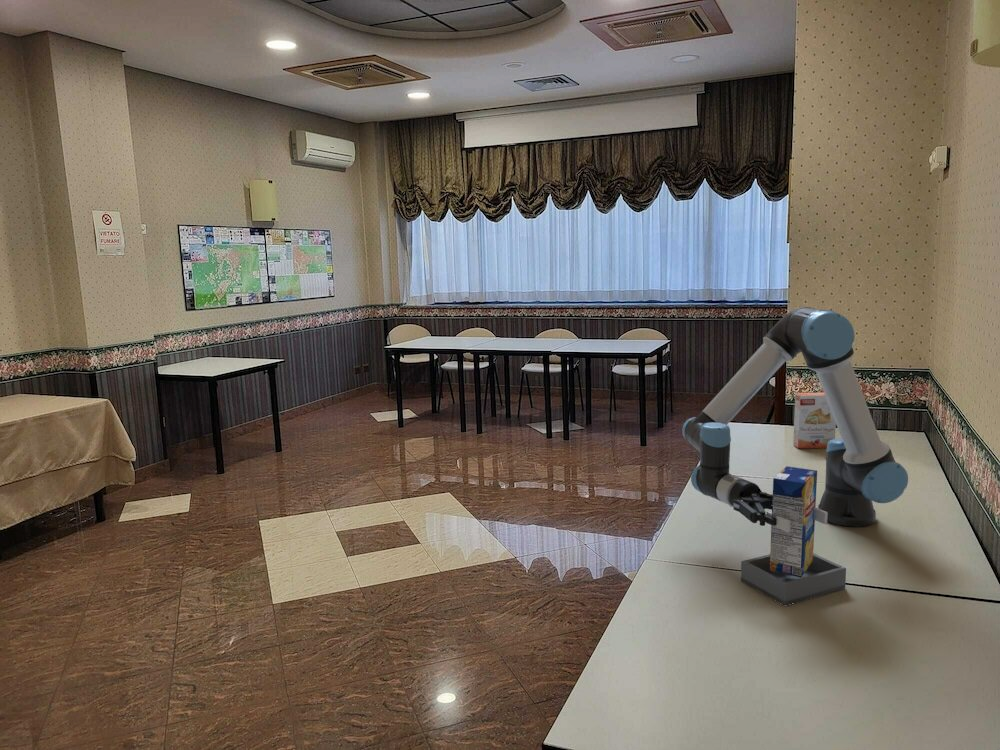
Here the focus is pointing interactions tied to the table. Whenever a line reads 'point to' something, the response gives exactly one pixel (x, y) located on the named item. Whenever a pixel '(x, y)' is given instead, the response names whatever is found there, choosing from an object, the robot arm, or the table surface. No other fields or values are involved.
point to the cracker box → (813, 421)
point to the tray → (793, 579)
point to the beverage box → (793, 520)
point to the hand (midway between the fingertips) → (807, 522)
